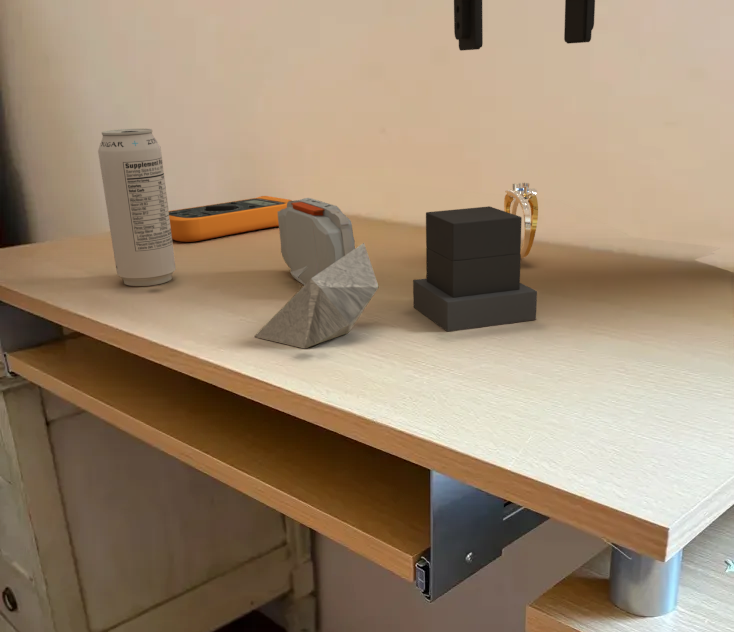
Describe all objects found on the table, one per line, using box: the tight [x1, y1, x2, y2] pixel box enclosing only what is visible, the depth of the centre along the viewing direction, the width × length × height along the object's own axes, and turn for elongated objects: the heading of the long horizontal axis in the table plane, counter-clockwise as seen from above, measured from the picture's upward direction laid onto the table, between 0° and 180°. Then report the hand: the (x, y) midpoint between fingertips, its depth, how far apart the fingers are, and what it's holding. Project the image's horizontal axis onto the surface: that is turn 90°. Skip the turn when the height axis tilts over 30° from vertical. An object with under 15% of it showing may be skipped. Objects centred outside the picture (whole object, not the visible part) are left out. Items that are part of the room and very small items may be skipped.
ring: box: [503, 182, 539, 260], centre depth 89 cm, size 7×3×8 cm, turn 5°
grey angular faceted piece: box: [253, 242, 380, 349], centre depth 67 cm, size 12×6×9 cm
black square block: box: [425, 247, 521, 298], centre depth 70 cm, size 6×6×3 cm
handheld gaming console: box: [277, 197, 356, 284], centre depth 82 cm, size 14×3×8 cm, turn 27°
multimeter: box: [169, 195, 293, 243], centre depth 111 cm, size 9×18×3 cm, turn 130°
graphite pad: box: [425, 205, 523, 261], centre depth 69 cm, size 6×6×3 cm
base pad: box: [412, 277, 538, 333], centre depth 71 cm, size 8×8×2 cm
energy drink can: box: [97, 128, 177, 287], centre depth 84 cm, size 6×6×15 cm
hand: (524, 46), depth 68 cm, fingers open, 9 cm apart
